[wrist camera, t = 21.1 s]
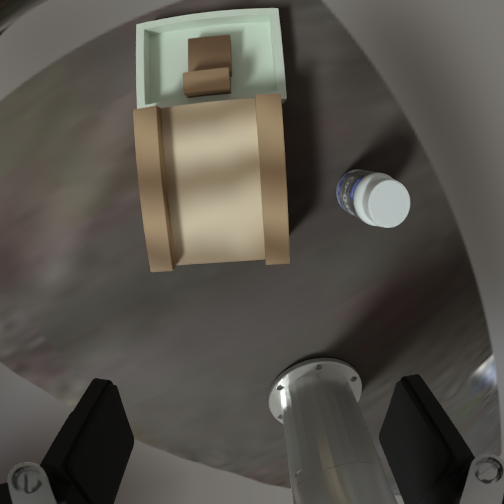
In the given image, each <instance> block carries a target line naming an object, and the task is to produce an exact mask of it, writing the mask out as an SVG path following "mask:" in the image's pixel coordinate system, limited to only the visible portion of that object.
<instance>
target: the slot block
mask: <svg viewBox="0 0 504 504" xmlns="http://www.w3.org/2000/svg"><path fill="white" fill-rule="evenodd" d="M133 115H134V133H135V147H136V160H137V171H138V181H139V191H140V199H141V208H142V216H143V223H144V231H145V238H146V244H147V251H148V257H149V263H150V269H151V272H160V271H173V269H174V268H175V266H176V265H186V264H202V263H217V262H232V261H247V260H262V259H265V261H266V265H271V264H285V263H290V253H289V226H288V203H287V182H286V164H285V147H284V132H283V117H282V104H281V94H260V95H255V98H250V99H235V100H223V101H213V102H203V103H195V104H187V105H179V106H172V107H165V108H160V107H158V106H151V107H145V108H139V109H134V110H133Z"/></svg>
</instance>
